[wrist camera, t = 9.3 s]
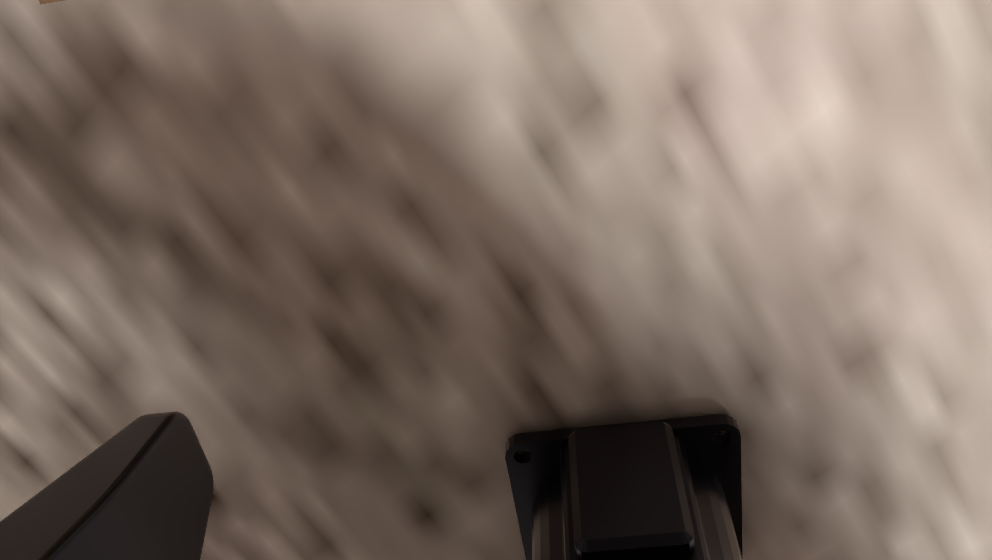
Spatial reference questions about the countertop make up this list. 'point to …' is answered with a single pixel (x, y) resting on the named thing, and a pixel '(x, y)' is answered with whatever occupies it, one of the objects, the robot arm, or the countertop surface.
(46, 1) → the display plinth
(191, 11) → the countertop surface
